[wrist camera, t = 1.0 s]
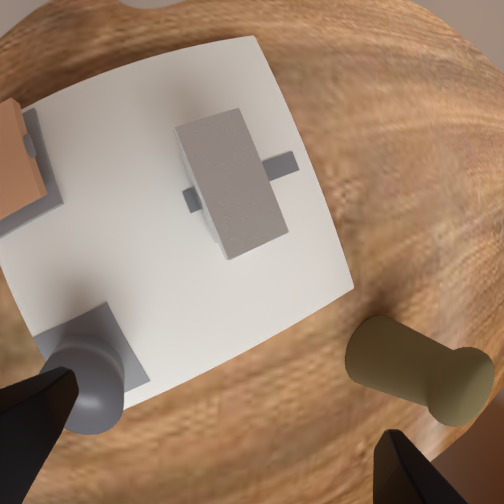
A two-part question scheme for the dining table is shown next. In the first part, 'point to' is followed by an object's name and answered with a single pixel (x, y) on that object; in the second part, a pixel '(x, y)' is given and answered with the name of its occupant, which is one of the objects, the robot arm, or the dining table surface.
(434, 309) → the dining table surface
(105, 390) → the button
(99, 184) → the panel
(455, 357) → the olive pawn
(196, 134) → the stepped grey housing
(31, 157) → the peach slab
